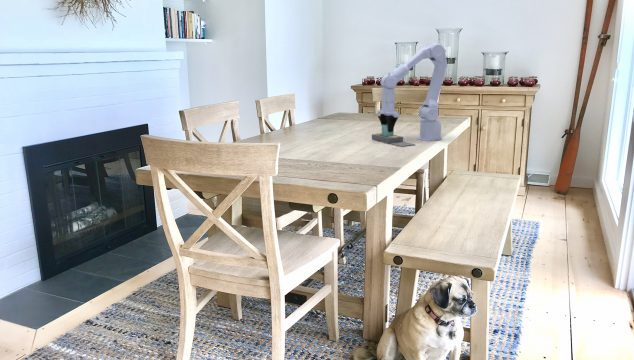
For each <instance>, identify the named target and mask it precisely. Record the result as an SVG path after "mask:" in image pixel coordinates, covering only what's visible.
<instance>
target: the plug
mask: <svg viewBox="0 0 634 360" xmlns="http://www.w3.org/2000/svg"><path fill="white" fill-rule="evenodd" d="M394 131H395V128H394V129H393V132H388V124H387V123H386V124H383V125H381V133H382V136H384V137H388V136H394V135H395V132H394Z"/></svg>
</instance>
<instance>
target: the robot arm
mask: <svg viewBox="0 0 634 360" xmlns="http://www.w3.org/2000/svg"><path fill="white" fill-rule="evenodd" d="M446 52H447V50H446V49H445V47H444V46H443V45H442V44H441V43H437V42H436V43H428V44H426V45H425V46H423V47H421V49H419V50H418V51H417V52H416V53H415V54H414V55H413V56H412V57H411V58H410V59H408V60H407V61H406V62H405V63H400V64H397V65H395V68H393V69H392V70H391V71H389V72H387V75H384V76H383V77H382V78H381V80H380V85H381V86H382V89H381V109H378V110H377V113H376V114H377V115H378V119H379V121H380V124H381V125H380V126H382V125H383V124H386V123H387V124H388V132H393V129H394V130H395V126H396V123H397V121H398V119H399V117H400V112H397V111H395V97H396V95H395V93H396V91H395V89H396V86H397V84H398V83H399V82H400V81H401V80H402V79H404V78H405V77H407V75H408V74H409V73H410V72H409V71H410V69H412V68H413V67H414V66H415V65H417V64H418V63H420V62H421V61H422V60H424V59H425V60H426V59H429V60H430V61H431V63H432V64H433V65H434V68H433V72H432V75H431V80H430V83H429V87H428V91H427V95H426V98H425V100H424V101H423V102H422V105H421V107H420V108H419V109H418V116H419V117H420V121H419V123H420V124H419V126H420V129H419V137H416V138H415V139H416V140H420V141H423V142H431V141H439V140H440V141H441V140H442V139H443V138H442V124H441V122H440V120H437V119H438V117H439V103H438V101H439V96H440V92H441V89H442V85H443V82H444V77H445V74H446V72H447V71H446V70H447V67H448V61H447V56H446Z"/></svg>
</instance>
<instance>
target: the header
mask: <svg viewBox="0 0 634 360" xmlns="http://www.w3.org/2000/svg"><path fill="white" fill-rule="evenodd" d="M371 140H373V141H377V142H380V143H384V144H387V145H388V144H389V145H391V144H390V143H398V142H404V136H402V135H396V134H394V136H388V137H384V136H382V132H379V133H372V134H371Z"/></svg>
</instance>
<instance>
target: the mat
mask: <svg viewBox="0 0 634 360" xmlns="http://www.w3.org/2000/svg"><path fill="white" fill-rule="evenodd" d="M389 145H391V146H396V147H399V148H403V147H404V148H405V147H413V146H416V144H415V143H411V142H407V141H403V142H398V143H390V144H389Z"/></svg>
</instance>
